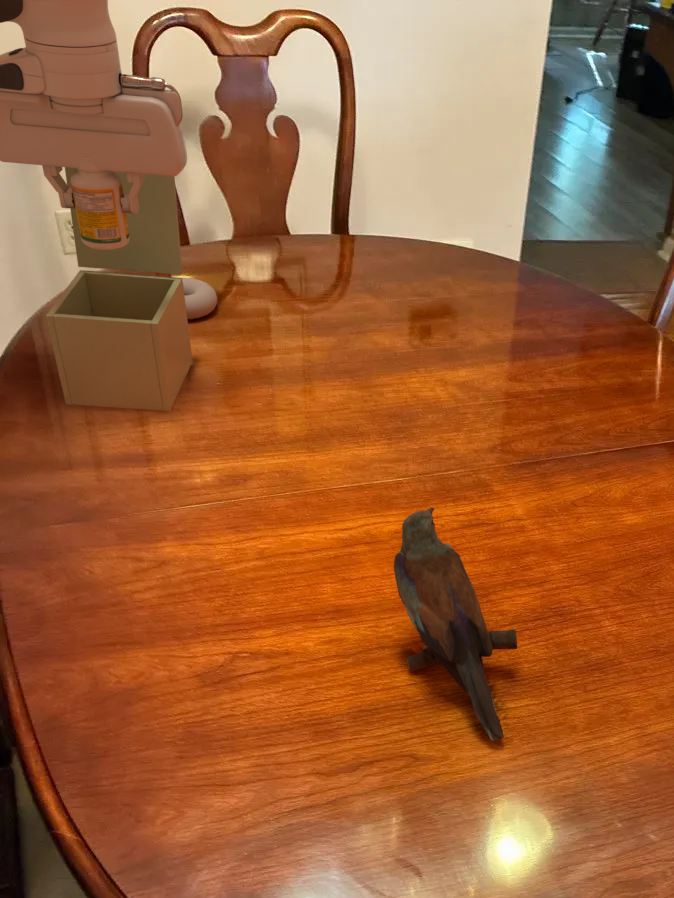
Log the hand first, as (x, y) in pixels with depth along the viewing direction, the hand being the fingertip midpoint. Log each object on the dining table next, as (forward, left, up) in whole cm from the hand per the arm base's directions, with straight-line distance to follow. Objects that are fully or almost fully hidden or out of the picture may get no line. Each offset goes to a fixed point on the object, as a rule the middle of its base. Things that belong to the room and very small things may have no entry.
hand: (100, 209), depth 108 cm
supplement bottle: (0, 0, -4) cm, 4 cm away
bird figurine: (+42, -48, -23) cm, 68 cm away
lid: (0, +8, -2) cm, 8 cm away
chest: (0, 0, -23) cm, 23 cm away
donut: (+1, +26, -23) cm, 35 cm away
